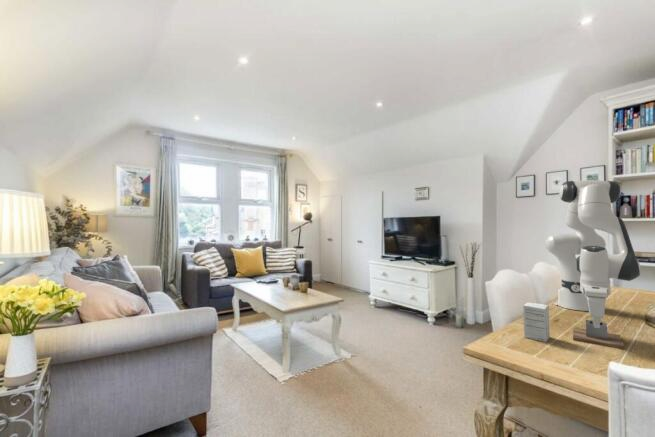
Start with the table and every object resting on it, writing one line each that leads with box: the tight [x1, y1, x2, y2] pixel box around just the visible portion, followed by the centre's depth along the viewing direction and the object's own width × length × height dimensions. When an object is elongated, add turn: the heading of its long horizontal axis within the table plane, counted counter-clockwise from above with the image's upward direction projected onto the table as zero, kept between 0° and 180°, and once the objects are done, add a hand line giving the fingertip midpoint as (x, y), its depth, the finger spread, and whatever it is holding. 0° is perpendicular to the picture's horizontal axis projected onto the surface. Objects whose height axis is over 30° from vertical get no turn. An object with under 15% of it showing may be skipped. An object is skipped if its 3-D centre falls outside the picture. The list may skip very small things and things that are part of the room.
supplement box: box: [522, 301, 551, 343], centre depth 119 cm, size 7×7×13 cm
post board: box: [572, 317, 625, 350], centre depth 116 cm, size 14×14×9 cm
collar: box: [585, 319, 608, 340], centre depth 116 cm, size 6×6×5 cm
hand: (596, 324), depth 116 cm, fingers open, 8 cm apart
